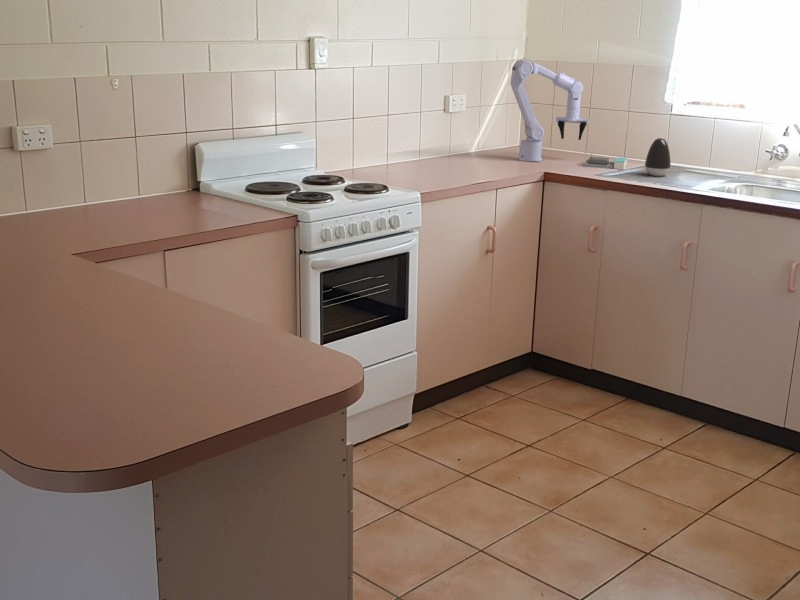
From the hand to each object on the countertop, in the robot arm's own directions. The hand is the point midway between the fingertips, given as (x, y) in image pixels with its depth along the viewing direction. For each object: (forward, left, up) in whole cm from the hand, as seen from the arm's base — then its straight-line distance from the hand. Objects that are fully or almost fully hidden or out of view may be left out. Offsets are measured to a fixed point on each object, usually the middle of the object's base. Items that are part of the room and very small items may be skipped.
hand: (571, 139), depth 415 cm
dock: (+17, -9, -9) cm, 21 cm away
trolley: (+14, -9, -9) cm, 19 cm away
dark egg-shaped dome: (+40, -23, -10) cm, 47 cm away
